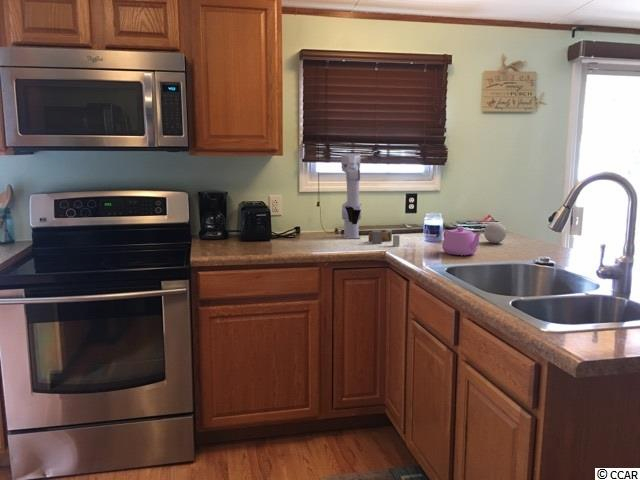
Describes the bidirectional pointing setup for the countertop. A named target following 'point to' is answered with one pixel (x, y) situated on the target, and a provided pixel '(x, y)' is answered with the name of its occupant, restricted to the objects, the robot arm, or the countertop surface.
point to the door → (385, 236)
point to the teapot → (460, 241)
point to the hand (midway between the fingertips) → (353, 223)
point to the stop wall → (395, 240)
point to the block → (377, 237)
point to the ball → (495, 232)
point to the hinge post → (391, 233)
